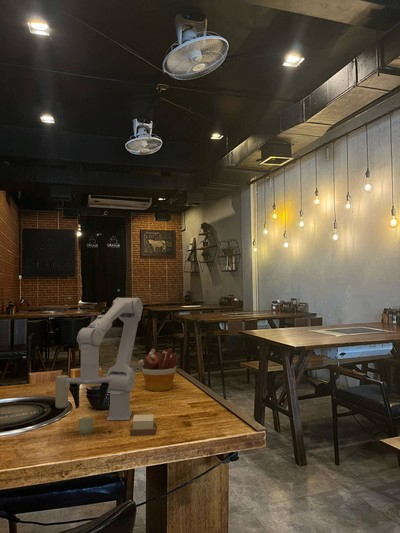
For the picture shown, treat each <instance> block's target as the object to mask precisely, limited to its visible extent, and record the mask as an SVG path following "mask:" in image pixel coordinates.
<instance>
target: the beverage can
mask: <svg viewBox="0 0 400 533" xmlns="http://www.w3.org/2000/svg"><path fill="white" fill-rule="evenodd" d="M68 378H69V375H66V374H63V375H57V376H56V377H55V398H54V399H55V408H56V409H64V408H67V407H68V405H69V386H66V380H67V379H68Z"/></svg>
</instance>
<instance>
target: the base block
mask: <svg viewBox="0 0 400 533" xmlns="http://www.w3.org/2000/svg"><path fill="white" fill-rule="evenodd" d="M157 422H158V421H157V420H153V429H133V422H132V423H131V426H130V429H129V437H145V436H146V437H150V436H153V437H154V436H156V434H157V426H158V425H157Z"/></svg>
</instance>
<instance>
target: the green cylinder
mask: <svg viewBox="0 0 400 533" xmlns="http://www.w3.org/2000/svg"><path fill="white" fill-rule="evenodd" d="M93 430H94V418H93V417H87V416H86V417H82V418H80V419H78V434H79V435H90V434H92V433H93Z"/></svg>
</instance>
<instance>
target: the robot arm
mask: <svg viewBox="0 0 400 533" xmlns="http://www.w3.org/2000/svg"><path fill="white" fill-rule="evenodd" d="M143 308H144V305H143V301H142V300H141V298H140V297H116V298H115V299H114V300H113V301H112V306H110V308H109V309H108V311H107V312H106V313H105V314H101V315H100V314H99V315H97V317H96V318H95V320H94V321H92V322H91V323H89V325H88V326H87V327H82V328H81V329H80V330H79V331H78V333H77V336H76V342H77V343H78V350H79V351H80V376H79V377H68V379H67V380H66V386H68V392H70V394H71V396H72V399H73V403H74V406H75V409H79V408H80V388H81V387H80V386H82V385H83V386H84V385H85V386H87V385H100V386H99V408H103V406H104V403H105V399H106V398H105V397H106V396H107V395H106V394H108V393H110V405H109V409H108V410H109V413H108V416H107V418H106V421H130V418H131V416H132V413H133V411H132V410H130V399H131V398H130V397H131V396H130V393H131V392H132V391H133V390H134V388H135V384H136V380H135V378H136V373H135V371H134V370H133V369H132V368H131V366H130V365H131V361H132V354H133V351H134V345H135V341H136V336H137V329H138V324H139V322H140V321H141V320H142V318H141V317H142V313H143ZM116 319H119V320H120V321H122V322H123V327H122V328H123V329H122V332H121V338H120V340H119V346H118V350H117V351H118V352H117V356H116V360H115V361H116V362H115V364H114V365H113V366H111V367H110V368H108V372H107V374H106V376H100V375H99V374H100V372H99V370H100V367H99V366H100V363H99V362H100V349H99V348H100V345H102V342H103V340H104V337H105V335H106V334H107V332H108V331H109V330H110V329H111V328H112V326H113V322H114V321H115V320H116Z"/></svg>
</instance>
